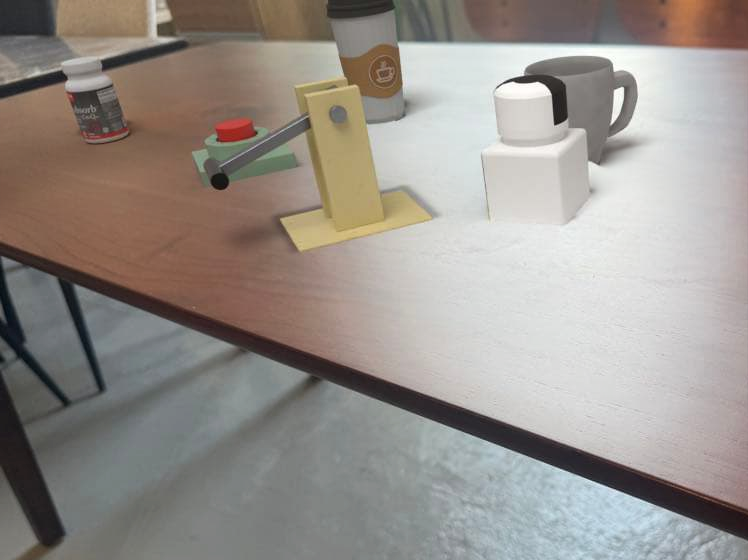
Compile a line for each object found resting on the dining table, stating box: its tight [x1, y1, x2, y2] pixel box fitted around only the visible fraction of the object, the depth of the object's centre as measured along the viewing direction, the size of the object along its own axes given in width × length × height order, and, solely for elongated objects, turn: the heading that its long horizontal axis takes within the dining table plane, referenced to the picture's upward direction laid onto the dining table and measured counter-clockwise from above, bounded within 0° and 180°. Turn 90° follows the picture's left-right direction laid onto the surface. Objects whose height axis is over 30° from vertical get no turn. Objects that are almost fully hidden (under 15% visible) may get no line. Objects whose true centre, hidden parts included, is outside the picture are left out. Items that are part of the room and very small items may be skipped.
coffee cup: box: [325, 0, 406, 125], centre depth 107 cm, size 8×8×15 cm
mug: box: [523, 55, 639, 165], centre depth 87 cm, size 12×9×10 cm
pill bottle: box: [60, 56, 130, 144], centre depth 113 cm, size 6×6×10 cm
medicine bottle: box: [480, 75, 591, 227], centre depth 74 cm, size 7×7×12 cm
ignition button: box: [214, 117, 256, 143], centre depth 95 cm, size 4×4×2 cm
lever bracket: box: [279, 75, 433, 254], centre depth 75 cm, size 12×9×13 cm
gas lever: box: [203, 85, 338, 191], centre depth 72 cm, size 13×5×2 cm, turn 115°
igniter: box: [190, 126, 298, 188], centre depth 96 cm, size 10×9×4 cm
